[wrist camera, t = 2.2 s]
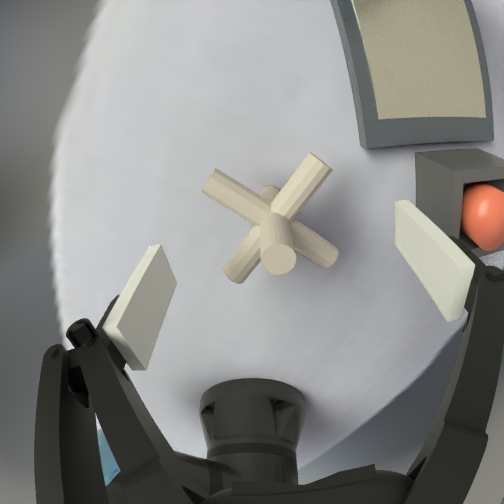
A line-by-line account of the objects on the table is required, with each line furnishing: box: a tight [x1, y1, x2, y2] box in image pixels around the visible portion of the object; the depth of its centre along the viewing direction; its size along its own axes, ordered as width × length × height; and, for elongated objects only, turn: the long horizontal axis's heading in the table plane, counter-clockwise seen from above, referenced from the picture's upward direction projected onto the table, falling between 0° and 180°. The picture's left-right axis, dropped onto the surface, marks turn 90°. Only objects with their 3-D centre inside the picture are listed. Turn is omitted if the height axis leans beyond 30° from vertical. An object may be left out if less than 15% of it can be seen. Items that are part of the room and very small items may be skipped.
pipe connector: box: [201, 152, 339, 284], centre depth 19 cm, size 10×10×10 cm
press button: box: [460, 181, 504, 251], centre depth 17 cm, size 5×5×3 cm
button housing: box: [415, 149, 504, 257], centre depth 20 cm, size 8×8×6 cm
